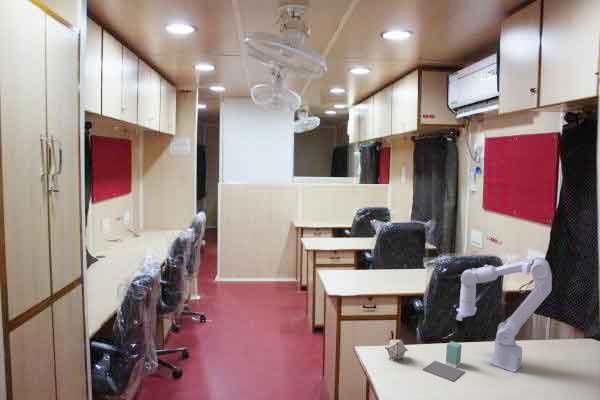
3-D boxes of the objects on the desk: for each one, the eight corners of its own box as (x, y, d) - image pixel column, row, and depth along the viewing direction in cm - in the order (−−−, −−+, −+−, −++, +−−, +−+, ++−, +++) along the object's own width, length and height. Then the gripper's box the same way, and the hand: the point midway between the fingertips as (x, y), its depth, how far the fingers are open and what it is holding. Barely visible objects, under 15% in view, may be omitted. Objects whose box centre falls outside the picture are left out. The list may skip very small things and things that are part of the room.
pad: (464, 372, 169) (465, 371, 169) (453, 381, 162) (453, 380, 162) (434, 361, 177) (434, 360, 177) (422, 370, 170) (422, 369, 170)
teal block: (460, 364, 175) (461, 344, 174) (455, 367, 172) (457, 347, 172) (450, 360, 178) (451, 341, 177) (445, 364, 175) (447, 344, 174)
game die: (397, 365, 181) (411, 344, 182) (400, 368, 172) (414, 345, 174) (378, 352, 182) (392, 330, 184) (380, 353, 174) (394, 331, 176)
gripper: (465, 293, 188) (463, 325, 189) (449, 301, 177) (447, 335, 179) (482, 298, 183) (480, 330, 185) (467, 306, 173) (465, 340, 174)
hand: (465, 333), depth 181 cm, fingers open, 7 cm apart
